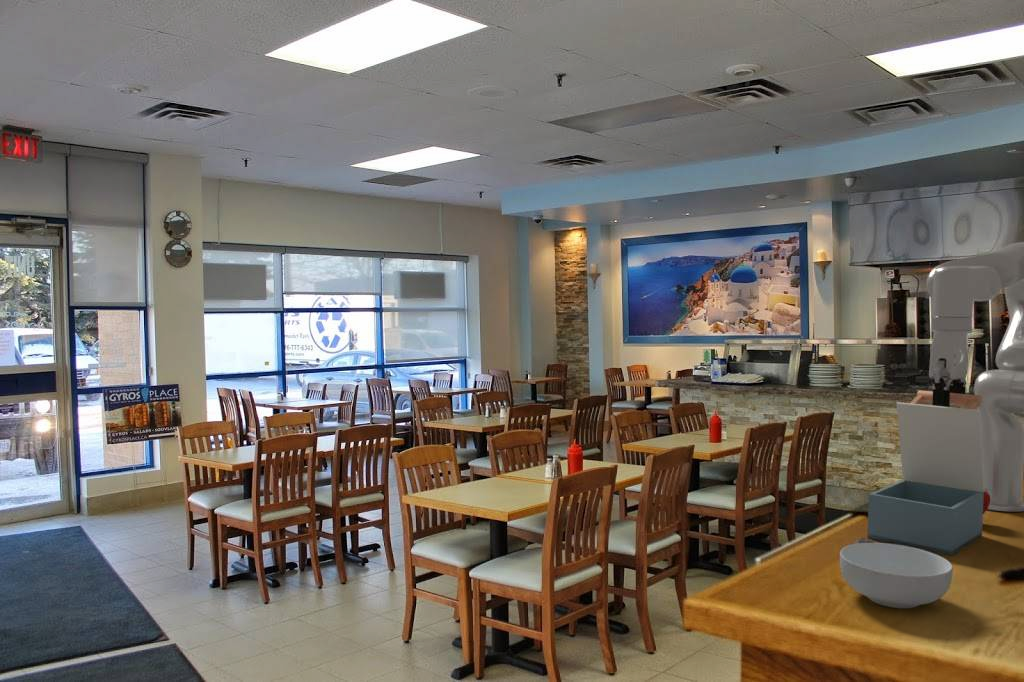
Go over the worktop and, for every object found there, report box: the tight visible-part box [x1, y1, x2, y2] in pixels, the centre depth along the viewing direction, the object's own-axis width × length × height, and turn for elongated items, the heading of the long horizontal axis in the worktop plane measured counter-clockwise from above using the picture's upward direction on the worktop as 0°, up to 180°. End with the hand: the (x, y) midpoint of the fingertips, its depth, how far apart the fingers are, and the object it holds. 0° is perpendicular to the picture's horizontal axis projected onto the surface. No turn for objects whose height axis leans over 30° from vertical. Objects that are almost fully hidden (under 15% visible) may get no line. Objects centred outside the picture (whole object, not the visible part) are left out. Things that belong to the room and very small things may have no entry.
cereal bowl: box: [839, 542, 954, 609], centre depth 140 cm, size 17×17×7 cm
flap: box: [895, 389, 985, 492], centre depth 181 cm, size 18×16×8 cm
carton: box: [867, 479, 984, 556], centre depth 175 cm, size 18×16×9 cm
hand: (948, 406), depth 181 cm, fingers open, 9 cm apart
